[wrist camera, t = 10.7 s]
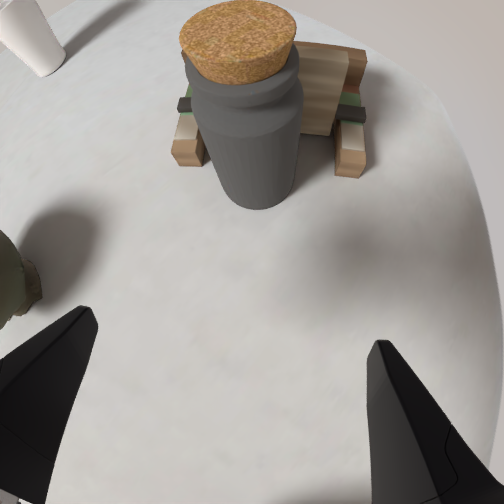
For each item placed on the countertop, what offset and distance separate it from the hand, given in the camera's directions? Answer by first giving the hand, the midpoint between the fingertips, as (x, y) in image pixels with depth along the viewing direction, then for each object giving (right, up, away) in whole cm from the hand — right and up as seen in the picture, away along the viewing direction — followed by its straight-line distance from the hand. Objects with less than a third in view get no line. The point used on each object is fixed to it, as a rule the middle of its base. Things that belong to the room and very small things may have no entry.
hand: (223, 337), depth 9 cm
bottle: (+1, +8, +16) cm, 18 cm away
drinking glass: (-28, +30, +22) cm, 47 cm away
